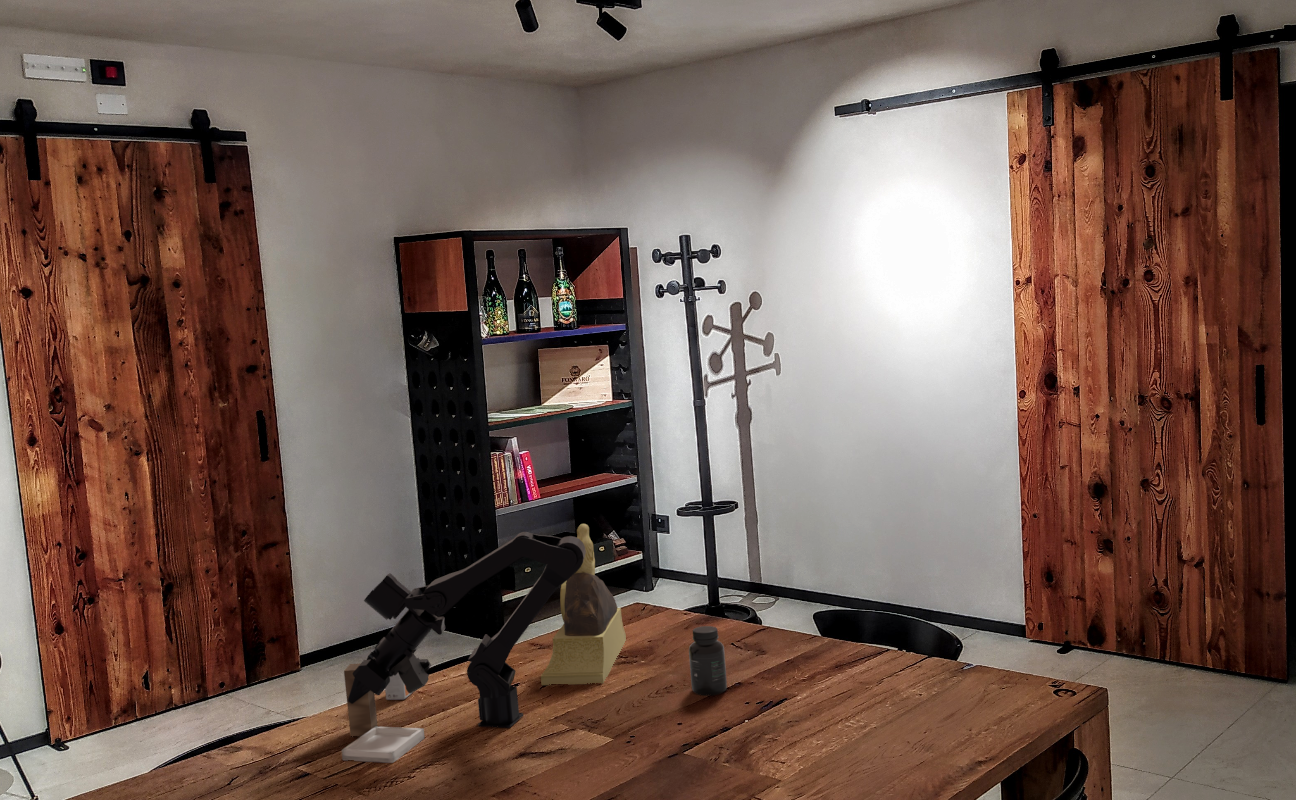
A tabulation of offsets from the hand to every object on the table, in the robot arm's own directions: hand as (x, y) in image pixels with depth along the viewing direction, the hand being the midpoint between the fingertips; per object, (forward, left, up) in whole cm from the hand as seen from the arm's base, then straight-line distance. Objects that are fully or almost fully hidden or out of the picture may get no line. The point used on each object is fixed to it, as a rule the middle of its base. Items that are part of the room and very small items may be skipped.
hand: (353, 698), depth 203 cm
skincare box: (+2, -20, -7) cm, 21 cm away
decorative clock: (-30, -43, -7) cm, 53 cm away
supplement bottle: (-61, -28, -7) cm, 67 cm away
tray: (-10, +7, -7) cm, 14 cm away
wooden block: (-1, 0, -7) cm, 7 cm away
